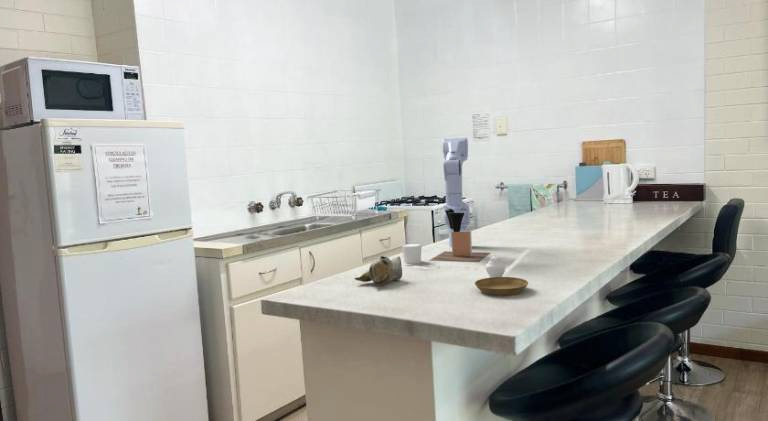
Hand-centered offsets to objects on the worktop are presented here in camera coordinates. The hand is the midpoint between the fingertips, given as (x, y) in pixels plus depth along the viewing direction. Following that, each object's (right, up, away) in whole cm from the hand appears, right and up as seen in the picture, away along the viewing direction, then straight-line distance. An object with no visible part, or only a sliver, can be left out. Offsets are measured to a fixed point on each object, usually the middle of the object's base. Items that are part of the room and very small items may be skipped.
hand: (455, 230), depth 217 cm
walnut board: (+2, -10, -2) cm, 11 cm away
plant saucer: (+7, -16, -50) cm, 53 cm away
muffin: (+8, -14, -34) cm, 38 cm away
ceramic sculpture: (-26, -15, -33) cm, 45 cm away
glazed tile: (+3, -9, -1) cm, 9 cm away
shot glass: (-16, -12, -8) cm, 21 cm away
